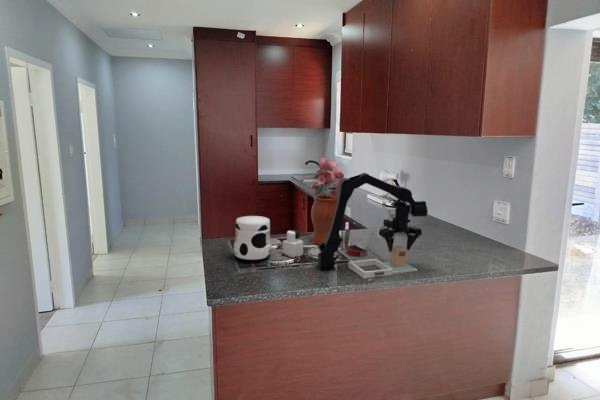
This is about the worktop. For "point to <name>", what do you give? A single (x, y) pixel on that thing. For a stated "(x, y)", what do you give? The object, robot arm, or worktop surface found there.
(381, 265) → the pale grey square frame
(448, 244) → the worktop surface
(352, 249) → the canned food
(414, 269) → the lid
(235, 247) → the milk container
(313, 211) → the potted flower
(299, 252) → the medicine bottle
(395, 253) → the block
